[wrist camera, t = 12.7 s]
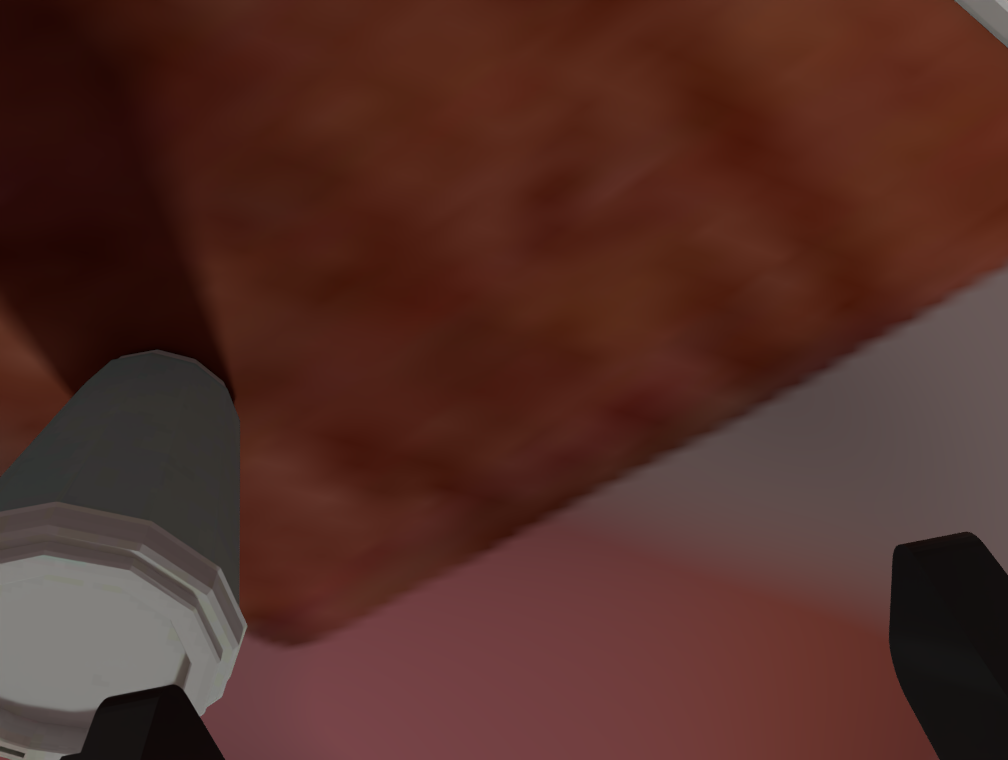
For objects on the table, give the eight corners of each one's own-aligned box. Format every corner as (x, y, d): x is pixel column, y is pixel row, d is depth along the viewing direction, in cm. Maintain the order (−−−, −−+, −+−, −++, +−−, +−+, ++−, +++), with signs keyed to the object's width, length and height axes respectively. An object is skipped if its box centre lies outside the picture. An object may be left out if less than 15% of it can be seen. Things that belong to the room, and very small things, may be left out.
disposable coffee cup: (106, 260, 37) (-61, 494, 24) (336, 383, 41) (296, 640, 28) (9, 438, 41) (-176, 717, 29) (226, 534, 45) (148, 817, 32)
